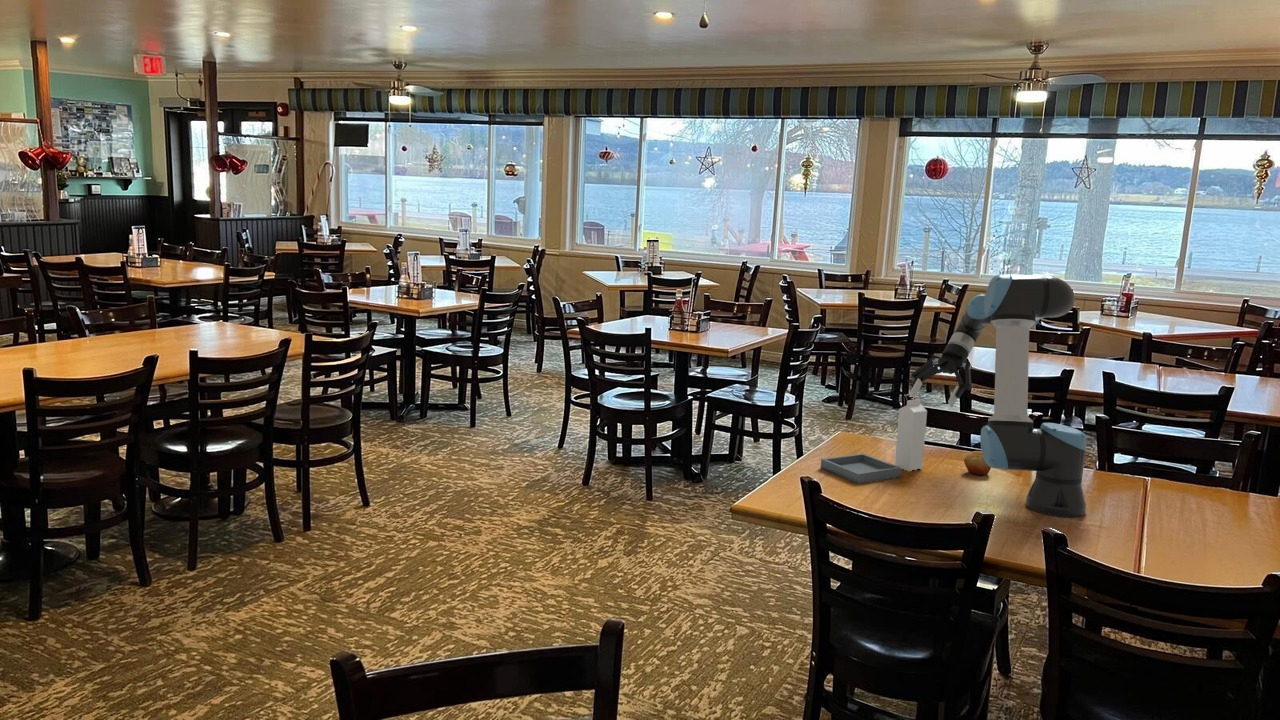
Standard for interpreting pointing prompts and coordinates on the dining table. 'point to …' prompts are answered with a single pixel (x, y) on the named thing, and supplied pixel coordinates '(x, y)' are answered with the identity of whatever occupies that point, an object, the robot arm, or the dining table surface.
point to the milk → (911, 436)
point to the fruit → (976, 463)
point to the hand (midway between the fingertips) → (930, 400)
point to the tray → (860, 468)
